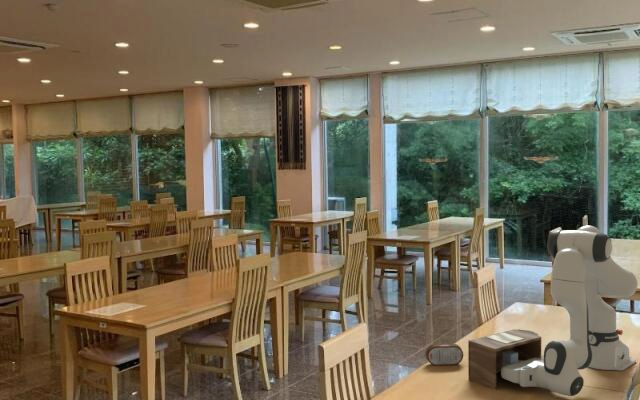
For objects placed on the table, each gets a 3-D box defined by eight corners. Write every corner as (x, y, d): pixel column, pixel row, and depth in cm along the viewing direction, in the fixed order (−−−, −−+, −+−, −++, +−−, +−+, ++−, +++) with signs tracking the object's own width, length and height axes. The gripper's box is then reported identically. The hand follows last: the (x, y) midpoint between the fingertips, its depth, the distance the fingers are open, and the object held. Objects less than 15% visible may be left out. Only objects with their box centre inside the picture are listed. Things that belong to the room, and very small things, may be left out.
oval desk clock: (462, 362, 258) (462, 342, 257) (464, 365, 255) (464, 344, 254) (425, 364, 257) (425, 343, 257) (427, 366, 254) (426, 346, 254)
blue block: (509, 375, 241) (509, 350, 240) (518, 378, 238) (518, 352, 237) (502, 377, 239) (502, 352, 238) (510, 381, 235) (510, 354, 235)
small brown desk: (514, 366, 252) (514, 328, 251) (541, 375, 242) (541, 335, 241) (468, 379, 239) (468, 339, 238) (494, 389, 228) (494, 348, 227)
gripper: (557, 359, 232) (526, 350, 244) (520, 370, 221) (489, 360, 233) (557, 376, 233) (526, 366, 244) (520, 388, 222) (489, 377, 233)
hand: (508, 363), depth 239 cm, fingers closed on blue block, 4 cm apart
